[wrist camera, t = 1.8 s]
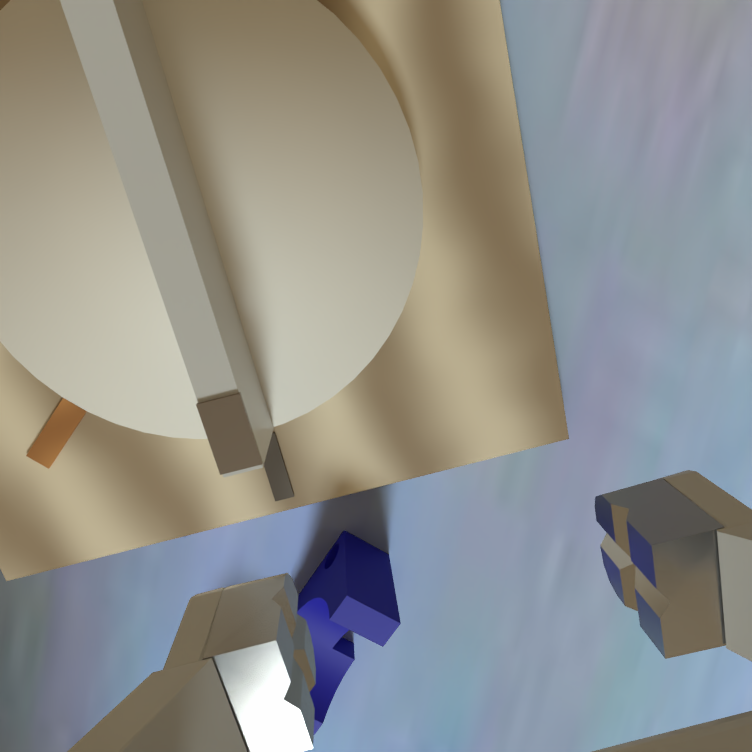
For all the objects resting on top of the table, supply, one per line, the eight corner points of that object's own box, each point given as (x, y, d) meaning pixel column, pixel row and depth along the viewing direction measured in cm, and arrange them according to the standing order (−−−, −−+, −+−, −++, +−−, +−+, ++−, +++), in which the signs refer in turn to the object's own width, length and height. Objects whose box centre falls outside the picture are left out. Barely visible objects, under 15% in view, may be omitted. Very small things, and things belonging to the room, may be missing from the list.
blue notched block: (300, 713, 36) (294, 808, 30) (235, 683, 35) (216, 775, 29) (410, 564, 34) (426, 636, 28) (344, 528, 33) (346, 595, 27)
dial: (359, -94, 23) (369, -197, 18) (457, 372, 29) (489, 412, 23) (-127, 25, 23) (-280, -38, 17) (63, 471, 29) (-5, 536, 23)
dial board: (448, -246, 24) (456, -279, 22) (558, 428, 32) (570, 439, 30) (-277, -69, 23) (-321, -89, 22) (21, 564, 32) (4, 582, 30)
